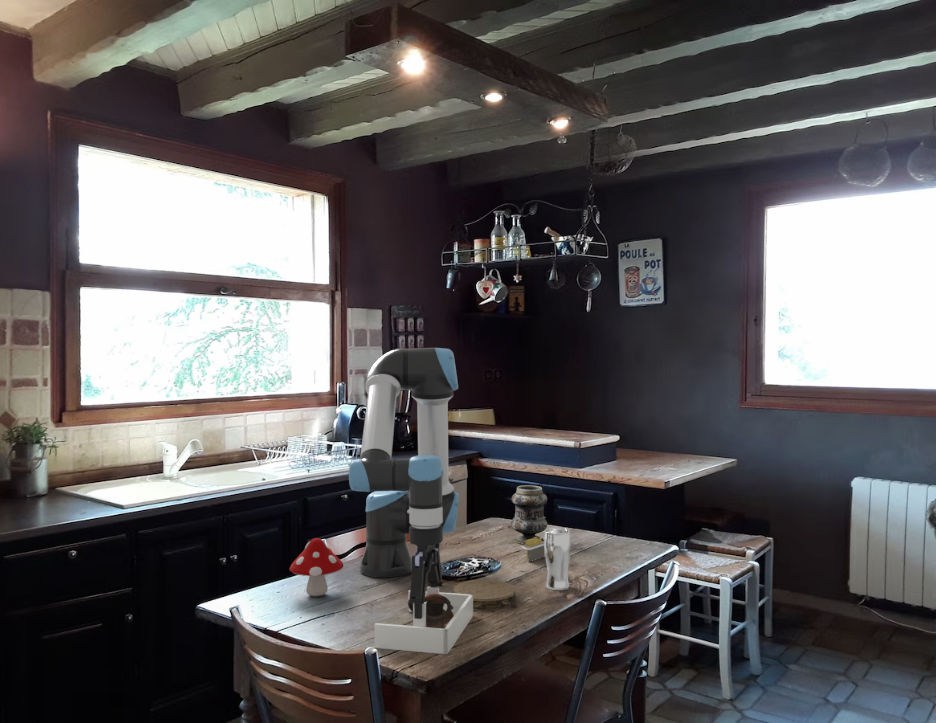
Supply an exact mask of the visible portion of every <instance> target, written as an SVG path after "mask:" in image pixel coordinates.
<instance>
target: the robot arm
mask: <svg viewBox="0 0 936 723" xmlns="http://www.w3.org/2000/svg"><path fill="white" fill-rule="evenodd" d="M455 361H456V360H455V355H454V352H453V351H452V350H451V349H450V348H442V347H421V348H417V347H416V348H415V347H414V348H403V347H402V348H395V349H392V350H389V351H388V352H386V353H384V354H383V355H382V356H381V357H379V358H378V359H377V360H376V361H375V362H374V363H373V365H371V368H370V369H369V371H368V373H367V376H366V379H365V387H364V389H365V392H366V394H367V400H366V408H365V409H366V410H365V416H364V425H363V432H362V441H361V449H360V455H359V456H360V457H359V458H358V459H353V460H351V461H350V464H349V466H348V467H349V468H348V481H349V487H350V489H351V490H352V491H355V492H367V493H370V492H371V493H370V494H368V495H367V497H366V500H365V501H366V502H365V503H366V505H365V511H364V512H365V513H366V514H365V515H366V516H365V519H366V520H365V523H366V524H365V526H366V529H365V530H366V531H365V533H366V534H365V536H366V537H365V539H366V540H365V541H366V545H365V548H364V552H363V555H362V557H361V561H360V573H361V574H362V575H364V576H366V577H371V578H395V577H396V578H397V577H401V576H405V575H408V574H410V573H411V575H410V589H409V590H410V599H409V603H413V613H412V622H413V624H412V626H418V627H426V602H424V599H425V592H426V591H427V595H429V594H439V592H440V587H441V588H442V587H443V586H444V585H443V584H444V582H443V581H442V580H443V577H442V576H443V575H442V567H441V556H440V544H441V543H442V542H443V539H444V538H443V537H444V535H443V534H451V533H453V532H454V531H455V529H456V526H457V525H456V524H457V519H458V512H459V511H458V510H459V498H460V494H459V493H458V492H456V491H455V487H454V485H453V484H452V483H451V482H450V481H449V410H448V409H449V408H448V406H449V404H448V403H449V401H450V400H451V399H452V398H454V391H456V390H457V391H458V389H459V384H458V383H459V382H458V375H457V369H456V368H457V367H456V362H455ZM401 391H411V398H413V400H415V401H416V404H417V406H416V407H417V453H418V455H415V456H412V457H410V458H399V459H398V458H392V455H393V442H394V431H395V430H394V429H395V416H396V406H397V397H399V395H400V394H401ZM407 535H409V536H408V538H409V539H408V538H407ZM407 539H408V540H409V543H410V544H412V545H415V546H416V547H417V548H416V551H415V555H412V554H411V552H410V551H411V550H410V549H409V546H408V540H407ZM427 583H428V586H427ZM416 597H418V598H416Z"/></svg>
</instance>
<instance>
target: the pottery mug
mask: <svg viewBox="0 0 936 723" xmlns="http://www.w3.org/2000/svg"><path fill="white" fill-rule="evenodd" d="M416 598H418V597H416ZM424 602H427V603H426V627H430V628H442V627H444V626H445V625H448V623H449V622H450V621H451V619H452V618H453V616H454V615H453V613H452V611H451V610H452V609H453V606H452V605H451V603H450V601H449V600H448V599H447V598H446V597H445V596H442V595H439V594H429V595H427V596H425V599H424ZM444 604H447V610H446V611H445V610H444V609H443V607H444ZM408 606H409V608H410V610H411V611H412V612H411V613H412V614H413V603H409V601H408V600H407V607H408Z"/></svg>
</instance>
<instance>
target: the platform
mask: <svg viewBox="0 0 936 723" xmlns="http://www.w3.org/2000/svg"><path fill="white" fill-rule="evenodd" d="M541 538H542V537H540V539H537V537H536V538H532V539H529V540H526V544H521V548H522V549H524V550H526V561H528V562H529V563H531V562H530V561H532V560H535V559H538V558H541V557H544V558H545V551H544V541H541ZM541 559H542V558H541ZM538 560H539V559H538ZM535 561H536V560H535ZM532 562H533V561H532Z"/></svg>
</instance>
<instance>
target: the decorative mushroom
mask: <svg viewBox="0 0 936 723" xmlns="http://www.w3.org/2000/svg"><path fill="white" fill-rule="evenodd" d="M304 546H305V547H304V549H303V551H302V552H301V553H300V554H299V555H298V556H297V557H296V558H295V559H294V561H292V563H291V564H290V567H289V572H291V573H293V574H295V575H298V576H305V577H308V581H307V583H306V584H307V585H306V588H305V591H306V592H305V593H306V594H307V595H308V596H311V597H321V596H324V595H326V594H327V592H328V591H329V590H328V582H327V580H326V577H325V576H326V575H331V574H334V573H337V572H339V571H341V570H342V569H343V568H344V563H343V561H342V560H341V559H340V558H339V557H338V556H337V555H336V554H335V553H334V552H333V550H332V548H331V547H329V546H328V545H327V543H326V542H325V541H324V540H323V539H321V538H318V537H315V538H312V539H311V540H309V541H308V542H307V543H306V545H304Z"/></svg>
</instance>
